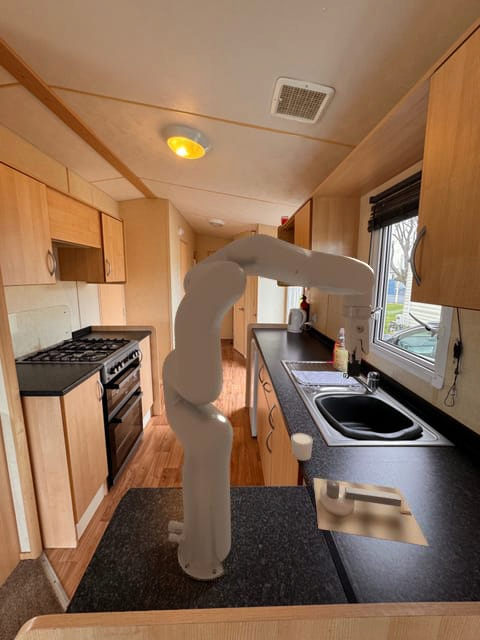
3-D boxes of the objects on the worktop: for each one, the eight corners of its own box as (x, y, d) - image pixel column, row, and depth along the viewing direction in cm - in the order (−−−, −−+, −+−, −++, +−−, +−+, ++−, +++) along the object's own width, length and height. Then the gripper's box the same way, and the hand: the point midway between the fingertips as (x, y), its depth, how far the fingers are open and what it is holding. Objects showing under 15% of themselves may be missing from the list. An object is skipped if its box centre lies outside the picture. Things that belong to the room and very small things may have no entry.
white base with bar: (321, 512, 63) (321, 494, 63) (318, 487, 71) (319, 471, 70) (405, 526, 60) (406, 507, 59) (392, 498, 67) (394, 481, 67)
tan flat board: (318, 534, 60) (318, 527, 60) (313, 482, 75) (313, 477, 75) (428, 552, 56) (429, 545, 55) (399, 493, 71) (399, 487, 71)
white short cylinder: (287, 462, 84) (287, 441, 83) (293, 450, 90) (294, 430, 89) (309, 468, 81) (310, 447, 80) (314, 455, 87) (315, 435, 86)
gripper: (379, 315, 67) (375, 386, 69) (363, 309, 81) (360, 368, 84) (347, 315, 68) (344, 384, 71) (337, 309, 83) (335, 367, 85)
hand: (353, 375), depth 77 cm, fingers closed
